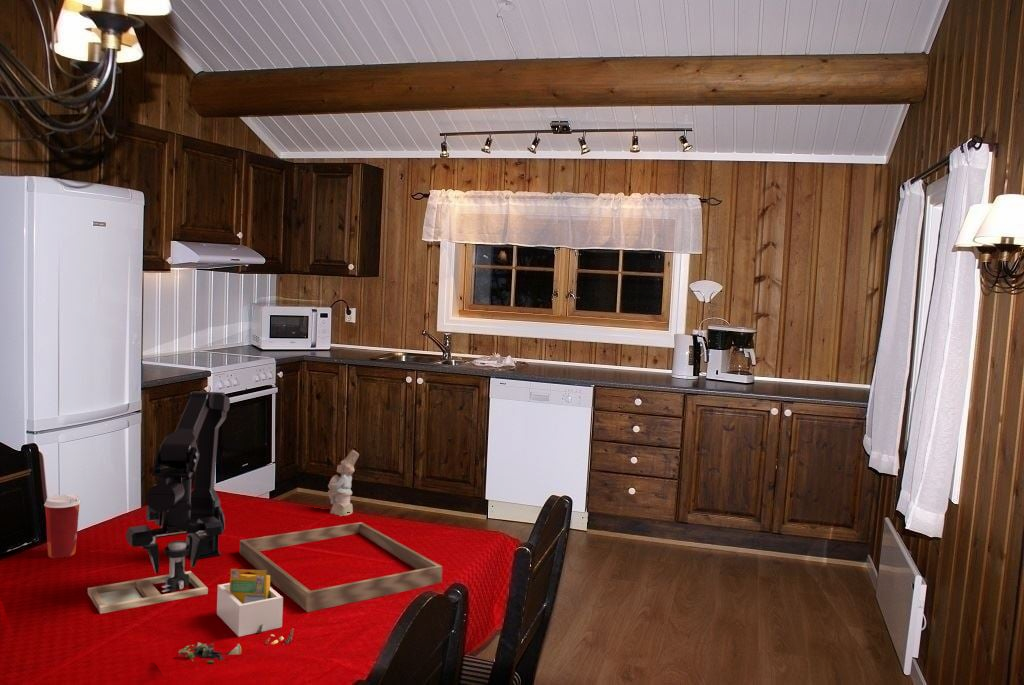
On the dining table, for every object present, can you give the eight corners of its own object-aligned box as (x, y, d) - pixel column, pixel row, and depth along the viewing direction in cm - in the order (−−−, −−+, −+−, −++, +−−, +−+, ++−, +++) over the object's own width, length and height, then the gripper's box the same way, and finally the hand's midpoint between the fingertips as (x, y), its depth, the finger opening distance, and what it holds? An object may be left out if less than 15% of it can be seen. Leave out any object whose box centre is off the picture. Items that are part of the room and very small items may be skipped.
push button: (171, 596, 172) (172, 550, 172) (152, 591, 174) (153, 546, 174) (195, 586, 178) (196, 542, 178) (176, 582, 180) (177, 537, 180)
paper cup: (87, 553, 195) (88, 496, 194) (60, 563, 188) (61, 503, 187) (62, 548, 198) (63, 492, 197) (34, 558, 191) (35, 499, 190)
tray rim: (360, 536, 219) (361, 522, 219) (441, 583, 188) (442, 566, 188) (239, 556, 199) (240, 540, 199) (307, 612, 168) (308, 593, 167)
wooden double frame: (190, 576, 184) (190, 570, 184) (207, 593, 175) (207, 588, 175) (87, 593, 171) (87, 587, 171) (100, 613, 162) (100, 607, 162)
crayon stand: (258, 605, 170) (259, 577, 169) (281, 627, 160) (283, 597, 160) (216, 613, 164) (217, 585, 164) (238, 636, 155) (239, 606, 154)
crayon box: (269, 621, 164) (271, 565, 163) (265, 628, 161) (267, 570, 160) (233, 620, 164) (234, 563, 163) (228, 626, 161) (229, 569, 160)
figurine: (361, 516, 238) (364, 449, 237) (349, 524, 230) (352, 454, 229) (333, 513, 240) (336, 446, 239) (320, 520, 232) (323, 451, 231)
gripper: (208, 486, 187) (206, 552, 188) (120, 495, 176) (119, 566, 177) (224, 497, 178) (222, 566, 179) (133, 507, 167) (131, 582, 168)
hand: (174, 569), depth 176 cm, fingers open, 7 cm apart
